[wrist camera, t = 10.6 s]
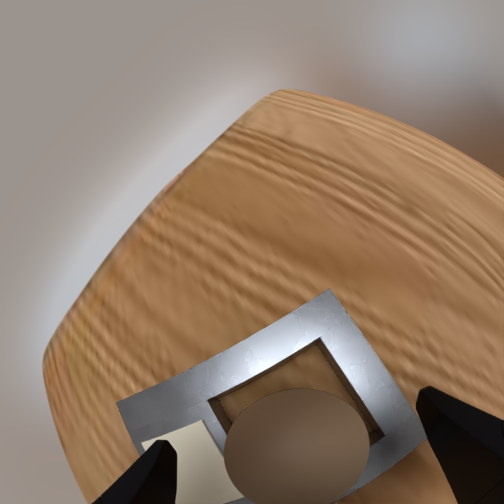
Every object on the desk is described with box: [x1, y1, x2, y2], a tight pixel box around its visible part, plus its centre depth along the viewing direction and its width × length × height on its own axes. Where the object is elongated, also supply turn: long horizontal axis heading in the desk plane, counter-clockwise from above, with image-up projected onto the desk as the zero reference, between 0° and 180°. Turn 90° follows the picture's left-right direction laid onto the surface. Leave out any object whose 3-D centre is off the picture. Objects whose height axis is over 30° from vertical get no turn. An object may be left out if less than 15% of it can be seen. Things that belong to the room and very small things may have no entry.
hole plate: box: [116, 288, 427, 504], centre depth 13 cm, size 12×16×3 cm
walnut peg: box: [224, 389, 370, 504], centre depth 10 cm, size 4×4×10 cm
